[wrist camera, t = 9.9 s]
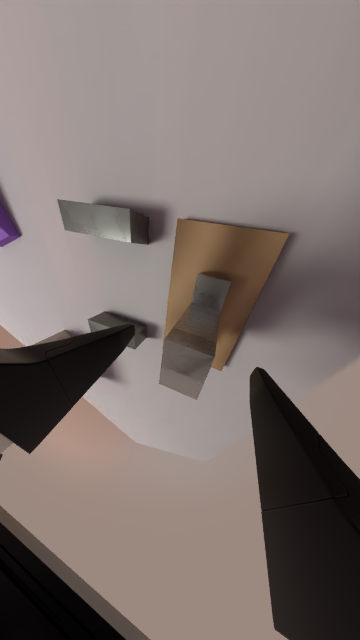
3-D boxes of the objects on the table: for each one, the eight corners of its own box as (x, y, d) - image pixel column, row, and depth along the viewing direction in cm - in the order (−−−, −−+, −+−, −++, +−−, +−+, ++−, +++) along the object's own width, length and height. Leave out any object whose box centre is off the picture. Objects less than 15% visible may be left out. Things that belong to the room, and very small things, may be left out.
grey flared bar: (230, 278, 12) (234, 311, 5) (208, 342, 16) (194, 405, 9) (200, 272, 13) (169, 293, 6) (186, 334, 17) (158, 389, 10)
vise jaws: (148, 217, 13) (129, 208, 10) (146, 337, 21) (134, 349, 18) (86, 208, 15) (57, 199, 12) (106, 323, 23) (91, 332, 20)
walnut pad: (284, 235, 10) (289, 233, 10) (221, 365, 18) (221, 370, 18) (181, 220, 12) (177, 218, 11) (165, 345, 20) (162, 349, 19)
